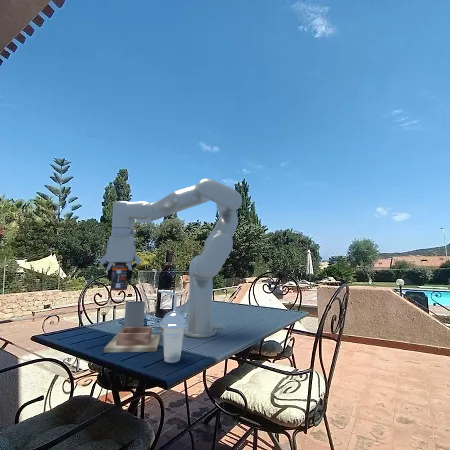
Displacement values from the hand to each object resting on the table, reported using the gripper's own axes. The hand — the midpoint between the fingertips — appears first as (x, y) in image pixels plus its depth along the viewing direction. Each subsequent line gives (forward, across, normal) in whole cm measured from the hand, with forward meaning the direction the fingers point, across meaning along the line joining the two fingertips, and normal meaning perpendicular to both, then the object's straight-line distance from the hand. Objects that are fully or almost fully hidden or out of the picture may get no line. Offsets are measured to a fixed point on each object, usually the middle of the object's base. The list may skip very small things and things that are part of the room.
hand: (119, 280), depth 105 cm
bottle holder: (+21, -8, +8) cm, 24 cm away
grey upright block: (+21, -2, -21) cm, 30 cm away
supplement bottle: (+4, 0, 0) cm, 4 cm away
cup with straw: (+22, -21, +24) cm, 38 cm away
